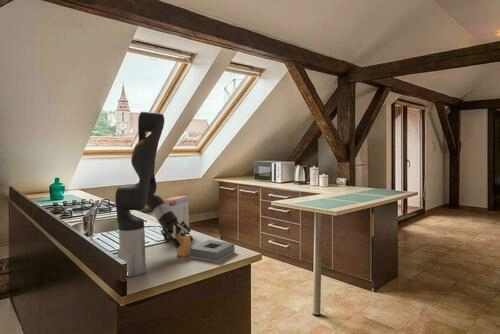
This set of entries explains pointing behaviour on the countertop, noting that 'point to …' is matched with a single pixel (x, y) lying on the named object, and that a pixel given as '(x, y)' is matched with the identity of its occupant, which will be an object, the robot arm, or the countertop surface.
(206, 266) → the countertop surface
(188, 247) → the plug
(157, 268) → the countertop surface
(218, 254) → the socket block
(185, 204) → the cracker box
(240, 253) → the countertop surface
